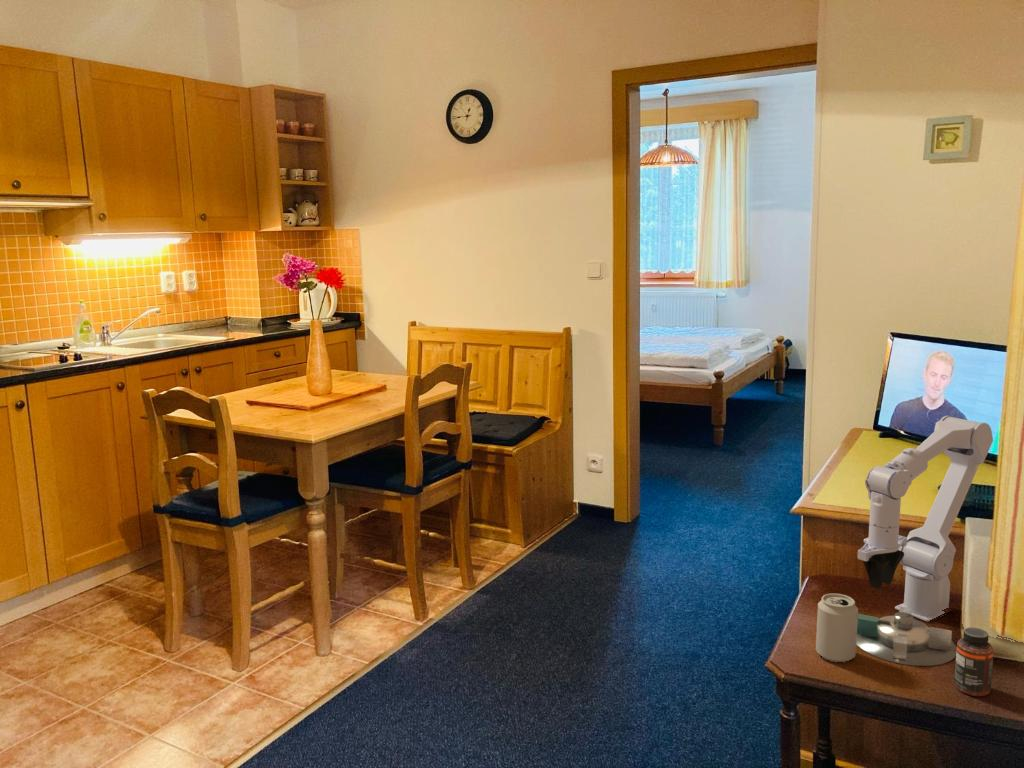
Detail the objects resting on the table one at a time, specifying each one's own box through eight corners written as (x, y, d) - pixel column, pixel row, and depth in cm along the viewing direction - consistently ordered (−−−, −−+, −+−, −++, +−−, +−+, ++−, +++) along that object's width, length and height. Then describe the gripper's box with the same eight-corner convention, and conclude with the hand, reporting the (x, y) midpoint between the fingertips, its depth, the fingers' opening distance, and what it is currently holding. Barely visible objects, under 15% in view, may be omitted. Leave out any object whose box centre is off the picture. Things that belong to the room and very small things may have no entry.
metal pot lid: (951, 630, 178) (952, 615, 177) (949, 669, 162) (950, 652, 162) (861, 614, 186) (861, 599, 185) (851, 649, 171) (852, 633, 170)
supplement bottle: (984, 682, 158) (989, 626, 156) (995, 699, 153) (1000, 641, 150) (949, 679, 160) (954, 623, 158) (958, 696, 154) (963, 638, 152)
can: (858, 666, 165) (862, 608, 163) (818, 663, 166) (821, 605, 164) (851, 647, 172) (854, 592, 170) (812, 644, 174) (815, 589, 171)
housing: (888, 611, 188) (889, 587, 187) (977, 647, 171) (979, 622, 170) (829, 635, 177) (830, 610, 176) (918, 676, 161) (920, 649, 160)
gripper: (886, 511, 184) (883, 570, 187) (846, 525, 176) (842, 587, 179) (917, 520, 178) (913, 581, 181) (876, 535, 170) (873, 598, 173)
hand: (880, 584), depth 179 cm, fingers open, 3 cm apart
